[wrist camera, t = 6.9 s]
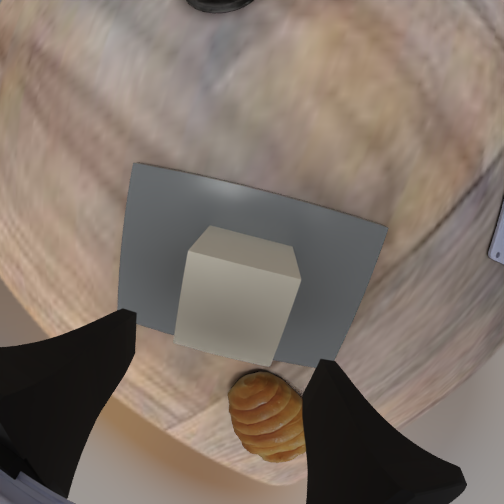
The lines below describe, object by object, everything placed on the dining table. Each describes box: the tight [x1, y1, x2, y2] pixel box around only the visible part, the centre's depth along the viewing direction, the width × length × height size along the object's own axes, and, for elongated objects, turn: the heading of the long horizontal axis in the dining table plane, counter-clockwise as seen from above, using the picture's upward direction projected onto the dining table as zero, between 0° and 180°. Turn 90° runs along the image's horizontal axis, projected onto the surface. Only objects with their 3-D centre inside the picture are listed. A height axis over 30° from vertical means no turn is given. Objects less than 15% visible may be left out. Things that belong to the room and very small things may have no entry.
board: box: [118, 163, 388, 368], centre depth 18 cm, size 16×11×1 cm
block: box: [173, 225, 301, 367], centre depth 16 cm, size 5×5×5 cm
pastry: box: [228, 372, 306, 463], centre depth 21 cm, size 9×7×4 cm
